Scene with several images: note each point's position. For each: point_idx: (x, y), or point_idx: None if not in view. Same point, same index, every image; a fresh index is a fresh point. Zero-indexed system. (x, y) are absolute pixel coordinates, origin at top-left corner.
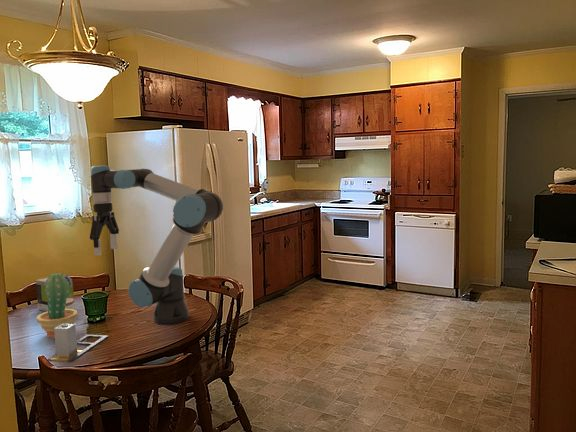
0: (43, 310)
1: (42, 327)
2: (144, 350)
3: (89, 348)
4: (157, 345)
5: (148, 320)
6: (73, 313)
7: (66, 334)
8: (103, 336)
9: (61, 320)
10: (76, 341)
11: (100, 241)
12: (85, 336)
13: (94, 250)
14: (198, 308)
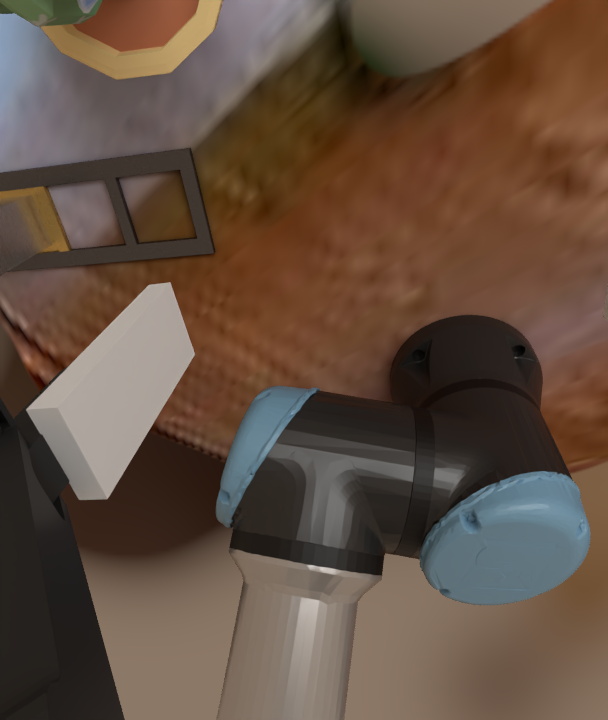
0: None
1: None
2: (170, 419)
3: (94, 263)
4: (214, 434)
5: (426, 302)
6: (166, 45)
7: None
8: (198, 240)
9: (71, 53)
10: (25, 260)
11: (119, 473)
12: (168, 162)
13: (123, 316)
14: (601, 422)
